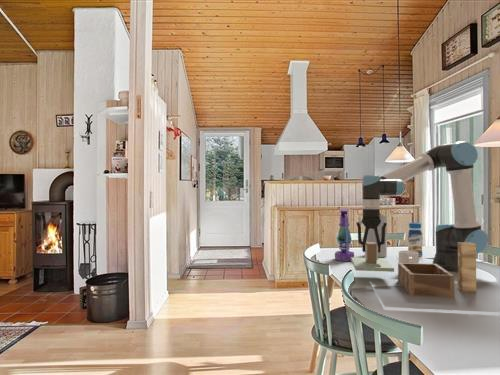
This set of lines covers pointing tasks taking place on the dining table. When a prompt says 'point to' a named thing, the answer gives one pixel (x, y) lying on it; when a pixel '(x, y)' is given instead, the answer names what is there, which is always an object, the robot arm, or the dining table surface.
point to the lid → (371, 261)
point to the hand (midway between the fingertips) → (371, 259)
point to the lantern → (344, 239)
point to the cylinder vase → (372, 237)
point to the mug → (408, 257)
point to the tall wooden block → (466, 267)
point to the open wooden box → (426, 279)
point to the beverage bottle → (415, 238)
